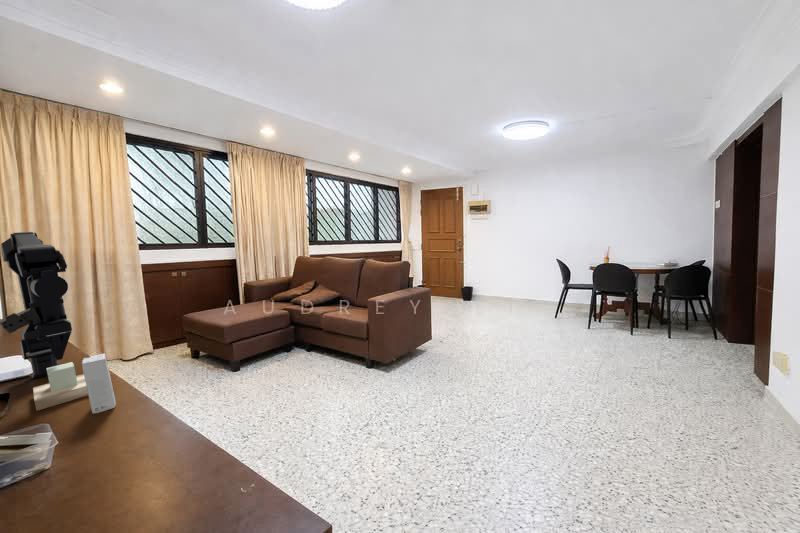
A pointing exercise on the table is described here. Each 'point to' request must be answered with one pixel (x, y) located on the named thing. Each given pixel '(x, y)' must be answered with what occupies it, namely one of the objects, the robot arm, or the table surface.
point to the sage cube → (62, 376)
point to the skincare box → (98, 383)
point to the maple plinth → (59, 394)
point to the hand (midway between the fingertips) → (58, 355)
